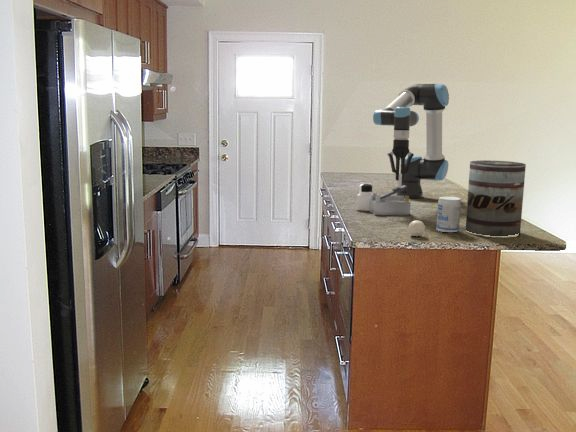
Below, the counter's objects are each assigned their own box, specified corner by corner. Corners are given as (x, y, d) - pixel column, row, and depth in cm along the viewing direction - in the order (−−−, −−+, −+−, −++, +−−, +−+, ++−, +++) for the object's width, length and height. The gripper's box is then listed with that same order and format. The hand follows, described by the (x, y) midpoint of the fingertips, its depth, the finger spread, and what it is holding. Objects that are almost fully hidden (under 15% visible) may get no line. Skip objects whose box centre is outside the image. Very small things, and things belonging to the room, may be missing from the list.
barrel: (455, 231, 280) (459, 162, 274) (482, 225, 295) (487, 159, 289) (503, 240, 264) (509, 167, 258) (529, 233, 279) (535, 163, 273)
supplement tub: (432, 231, 279) (434, 197, 277) (442, 228, 286) (444, 195, 284) (452, 234, 273) (455, 200, 271) (462, 231, 280) (465, 197, 278)
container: (373, 208, 334) (374, 183, 331) (371, 211, 326) (372, 185, 324) (359, 207, 336) (359, 182, 333) (355, 210, 329) (356, 184, 326)
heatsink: (403, 211, 328) (404, 192, 326) (409, 214, 318) (410, 195, 317) (369, 211, 326) (369, 192, 324) (374, 214, 316) (375, 195, 314)
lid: (404, 187, 323) (403, 183, 322) (407, 188, 319) (406, 185, 318) (375, 199, 322) (374, 196, 322) (377, 201, 318) (376, 197, 318)
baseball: (406, 237, 267) (407, 221, 266) (409, 234, 273) (410, 218, 272) (422, 239, 264) (423, 222, 263) (425, 235, 271) (426, 219, 270)
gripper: (390, 139, 311) (388, 188, 316) (416, 139, 313) (414, 187, 317) (386, 138, 319) (384, 186, 323) (411, 138, 320) (409, 185, 325)
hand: (399, 186), depth 320 cm, fingers closed
